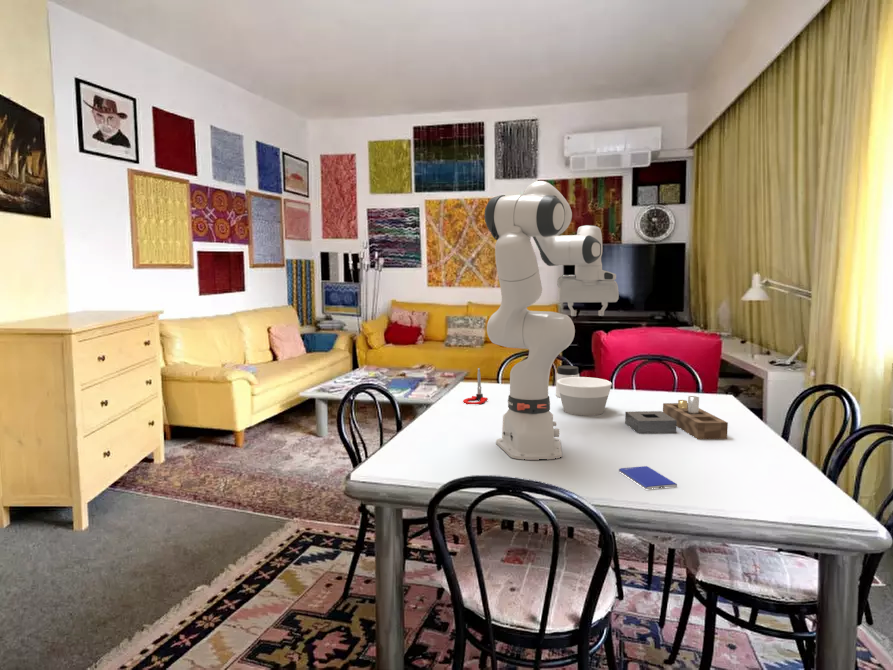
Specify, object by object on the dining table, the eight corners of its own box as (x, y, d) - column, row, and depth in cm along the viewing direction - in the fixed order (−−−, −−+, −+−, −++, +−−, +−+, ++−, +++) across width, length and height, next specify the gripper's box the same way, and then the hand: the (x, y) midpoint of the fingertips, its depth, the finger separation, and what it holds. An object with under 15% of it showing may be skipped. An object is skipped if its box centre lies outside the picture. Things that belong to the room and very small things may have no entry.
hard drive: (618, 468, 148) (646, 486, 136) (648, 465, 150) (677, 483, 138) (618, 474, 148) (645, 492, 136) (647, 471, 150) (677, 489, 138)
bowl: (582, 402, 226) (583, 375, 225) (622, 412, 210) (623, 383, 209) (545, 409, 215) (545, 380, 214) (584, 420, 199) (585, 389, 198)
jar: (563, 393, 242) (563, 364, 241) (581, 396, 237) (582, 366, 236) (552, 397, 235) (553, 367, 234) (571, 399, 230) (572, 369, 229)
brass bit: (687, 422, 196) (688, 401, 196) (679, 422, 196) (680, 401, 196) (684, 420, 199) (684, 399, 198) (675, 420, 199) (676, 399, 198)
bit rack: (726, 438, 177) (727, 422, 177) (697, 439, 177) (698, 423, 176) (688, 417, 203) (688, 403, 202) (662, 417, 203) (663, 403, 202)
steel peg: (699, 428, 188) (700, 398, 187) (689, 428, 188) (691, 398, 187) (694, 426, 191) (696, 396, 190) (685, 426, 191) (686, 396, 190)
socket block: (676, 433, 184) (676, 420, 183) (638, 433, 183) (638, 420, 183) (660, 423, 195) (661, 411, 195) (625, 423, 195) (625, 411, 195)
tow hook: (478, 407, 221) (490, 401, 228) (477, 373, 219) (489, 368, 227) (459, 404, 225) (471, 398, 233) (458, 371, 223) (470, 366, 231)
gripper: (559, 275, 195) (559, 316, 196) (620, 274, 195) (619, 316, 197) (555, 274, 201) (554, 315, 202) (614, 274, 202) (613, 314, 203)
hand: (587, 315), depth 200 cm, fingers open, 8 cm apart
